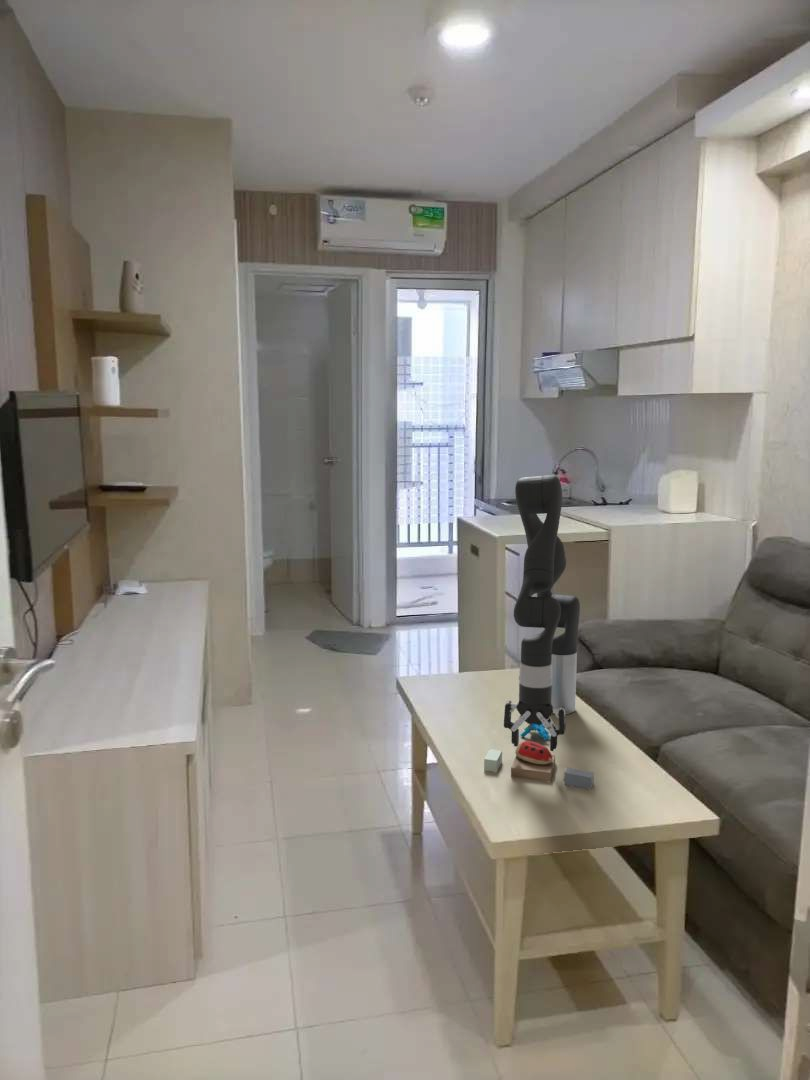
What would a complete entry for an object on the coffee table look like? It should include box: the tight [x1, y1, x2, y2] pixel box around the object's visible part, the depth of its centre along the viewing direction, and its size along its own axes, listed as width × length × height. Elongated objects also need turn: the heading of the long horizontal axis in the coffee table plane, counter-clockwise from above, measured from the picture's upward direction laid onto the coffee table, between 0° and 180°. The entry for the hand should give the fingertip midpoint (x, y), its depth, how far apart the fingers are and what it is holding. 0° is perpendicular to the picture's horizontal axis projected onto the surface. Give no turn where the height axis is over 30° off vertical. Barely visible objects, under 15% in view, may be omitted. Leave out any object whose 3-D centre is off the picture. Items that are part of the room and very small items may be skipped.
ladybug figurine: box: [515, 740, 553, 765], centre depth 189 cm, size 7×10×4 cm
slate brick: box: [563, 767, 595, 790], centre depth 181 cm, size 6×3×3 cm, turn 65°
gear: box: [520, 723, 551, 741], centre depth 208 cm, size 11×6×10 cm
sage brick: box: [483, 748, 503, 773], centre depth 190 cm, size 6×3×3 cm, turn 161°
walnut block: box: [510, 754, 556, 782], centre depth 188 cm, size 10×9×3 cm
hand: (534, 747), depth 187 cm, fingers open, 8 cm apart
